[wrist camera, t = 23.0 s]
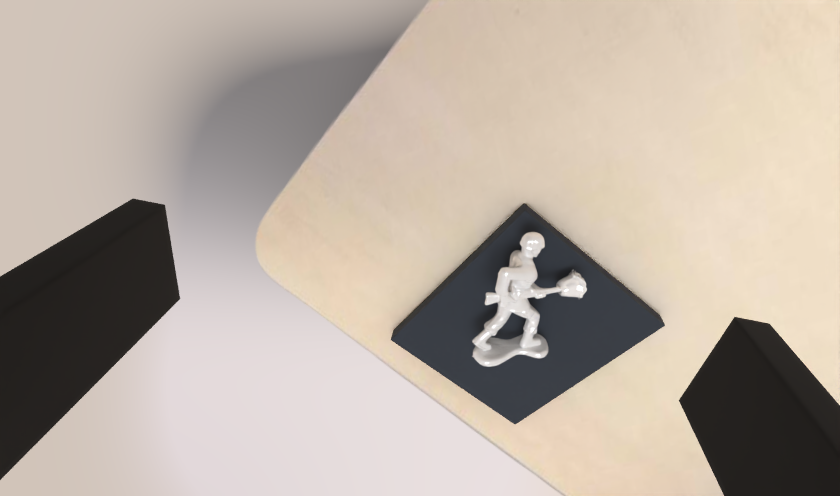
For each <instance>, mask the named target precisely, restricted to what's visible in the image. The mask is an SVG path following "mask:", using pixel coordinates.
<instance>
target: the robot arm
mask: <svg viewBox="0 0 840 496" xmlns="http://www.w3.org/2000/svg"><path fill="white" fill-rule="evenodd" d="M179 299H180V296H179V290H178V284H177V278H176V271H175V265H174V259H173V253H172V247H171V241H170V234H169V229H168V222H167V216H166V210H165V205H163V204H158V203H152V202H147V201H142V200H136V199H132V200H130V201H128V202H126V203H125V204H123V205H122V206H120V207H118V208H116V209H115V210H113V211H111V212H109V213H108V214H106V215H104V216H103V217H101V218H99V219H97V220H96V221H94V222H92V223H91V224H89V225H87V226H86V227H84V228H82V229H80V230H79V231H77V232H75V233H74V234H72V235H70V236H69V237H67V238H65V239H64V240H62V241H60V242H58V243H57V244H55V245H53V246H51V247H50V248H48V249H46V250H45V251H43V252H41V253H40V254H38V255H36V256H34V257H33V258H31V259H29V260H28V261H26V262H24V263H23V264H21V265H19V266H17V267H16V268H14V269H12V270H11V271H9V272H7V273H6V274H4V275H2V276H1V277H0V480H1V479H2V477H3V476H5V474H7V473H8V472H9V471H10V469H12V467H13V466H14V465H15V464H16V463H17V462H18V461H19V460H20V459H21V458H22V457H23V456H24V455H25V454H26V453H27V452H28V451H29V450H30V449H31V448H32V447H33V446H34V445H35V444H36V443H37V442H38V441H39V440H40V439H41V438H42V437H43V436H44V435H45V434H46V433H47V432H48V431H49V430H50V429H51V428H52V427H53V426H54V425H55V424H56V423H57V422H58V421H59V420H60V419H61V418H62V417H63V416H64V415H65V414H66V413H67V412H68V411H69V410H70V409H71V408H72V407H73V406H74V405H75V404H76V403H77V402H78V401H79V400H80V399H81V398H82V397H83V396H84V395H85V394H86V393H87V392H88V391H89V390H90V389H91V388H92V387H93V386H94V385H95V384H96V383H97V382H98V381H99V380H100V379H101V378H102V377H103V376H104V375H105V374H106V373H107V372H108V371H109V370H110V369H111V368H112V367H113V366H114V365H115V364H116V363H117V362H118V361H119V360H120V359H121V358H122V357H123V356H124V355H125V354H126V353H127V351H129V350H130V349H131V348H132V347H133V346H134V345H135V344H136V343H137V342H138V341H139V340H140V339H141V338H142V337H143V336H144V334H145V333H147V331H149V329H151V328H152V326H153V325H155V323H157V322H158V320H160V318H161V317H162V316H163V315H164V314H165V313H166V312H167V311H168V310H169V309H170V308H171V307H172V306H173V305H174V304H175V303H176V302H177V301H178V300H179ZM679 402H680V404H681V406H682V408H683V410H684V412H685V414H686V416H687V418H688V420H689V423H690V425H691V427H692V429H693V431H694V433H695V435H696V437H697V439H698V442H699V444H700V446H701V448H702V450H703V452H704V454H705V456H706V458H707V460H708V463H709V465H710V467H711V469H712V471H713V473H714V475H715V477H716V479H717V481H718V484H719V486H720V488H721V490H722V492H723V494H724V496H840V405H839V404H838V403H837V402H836V401H835V400H834V398H833V397H832V396H831V395H830V394H829V393H828V391H827V390H826V389H825V388H824V387H823V386H822V384H821V383H820V382H819V381H818V380H817V379H816V377H815V376H814V375H813V374H812V373H811V372H810V370H809V369H808V368H807V367H806V366H805V365H804V363H803V362H802V361H801V360H800V359H799V358H798V357H797V355H796V354H795V353H794V352H793V351H792V350H791V348H790V347H789V346H788V345H787V344H786V343H785V341H784V340H783V339H782V338H781V337H780V336H779V334H778V333H777V332H776V331H775V330H774V329H773V327H772V326H771V325H770V324H768V323H763V322H758V321H753V320H747V319H742V318H737V317H734V319H733V320H732V322H731V323H730V325H729V326H728V328H727V329H726V331H725V332H724V334H723V335H722V337H721V338H720V340H719V341H718V343H717V344H716V346H715V347H714V349H713V350H712V352H711V353H710V355H709V356H708V358H707V359H706V361H705V362H704V364H703V365H702V367H701V368H700V370H699V371H698V373H697V374H696V376H695V377H694V379H693V380H692V382H691V383H690V385H689V386H688V388H687V389H686V391H685V392H684V394H683V395H682V397H681V398H680V400H679Z"/></svg>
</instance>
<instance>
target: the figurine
mask: <svg viewBox="0 0 840 496" xmlns="http://www.w3.org/2000/svg"><path fill="white" fill-rule="evenodd" d="M520 245H521V246H522V247H521V250H515V251H513V252H512V254H511V256H510V261H509V267H503V268H501V269H500V271H499V273H498V278H497V283H496V287H495V291H496V293H493V292H487V293H486V299H485V305H490V304H493V303H496V302H497V303H498V308H497V313H496V315H495V316H494V317H493V318H492V319H490V320H489V321H487V322H486V323H485V324H484V330H483V331H482V332H481V333H479V334H478V335H477V336H476V337H475V338H474V339H473V340H472V342H473V343H474V344H475V345H476V346H475V348H474V349H473V356H472V357H474V358H475V360H476V361H477V362H478V363H479V364H481V365H483V366H487V367H491V366H496V365H499V364H501V363H503V362H505V361H506V360H508V359H510V358H511V357H513V356H515V355H519V354H522V355H527V356H531V357H534V358H543V357H545V356H546V355H547V353H548V349H549V348H548V344H547V341H546V339H545V338H544V337H543V336H541V335H540V334H537V327H538V324H539V319H540V314H539V312H538V311H537V310H536V309H535V308H534V307H533V306H532V305H530V303H529V301H528V299H527V298H531V297H535V298H536V299H537V298H538V299H540V298H543V297H545V296H546V294H551V293H556V292H558V293H559V294H560V295H561V296H564V297H578V298H579V297H580V298H582V297H583V295H584V294H585V293H586V291H587V288H586V282H585V281H584V278H581V275H580V274H579V273H575V272H576V271H574V269H573V270H572V271H571V272H570V273H569V275H568V276H566V277H564V278H562V279H560V280H559V281H558V282H557V283H556V287H553V288H540V287H538V286H537V285H536V284H535V283H534V282H535V281H536V279H537V277H538V274H537V270H536V267H535V264H534V262H533V257H537V256H538V254H539V253H540V250H541V249H542V248H544V247H545V242H544V238H543V236H542V235H541V234H539V233H537V232H528V233H526V234H525V235H524V236H523V237H522V239H521V241H520ZM573 271H574V272H573ZM511 313H514V314H516V315H519V316H521V317H524V318H526V321H525V325H524V327H523V330H524V332H523V334H522V335H520V336H517V337H515V338H512V339H508V340H504V339H498V338H492V337H491V336H495V335H496V334H497V332H498V330H499V329H501V328H502V327H503V325H504V324H505V323H506V322H507V320H508V319H509V317H510V315H511Z"/></svg>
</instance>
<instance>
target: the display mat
mask: <svg viewBox="0 0 840 496" xmlns="http://www.w3.org/2000/svg"><path fill="white" fill-rule="evenodd" d="M528 232H537V233H539V234H541V235H542V236H543V238H544V242H545V247H544V248H542V249H541V250H540V253H539V254H538V256H537V257H533V262H534V264H535V267H536V270H537V274H538V277H537V279H536V281H535V282H534V283H535V284H536V285H537V286H538V287H540V288H553V287H556V283H557V282H558V281H559V280H560V279H562V278H564V277H566V276H568V275H569V273H570V272H571V271H572V270H573V269H574V271H576V272H575V273H579V274H580V275H581V278H584V281H585V282H586V288H587V291H586V293H585V294H584V295H583V297H582V298H580V297H579V298H578V297H564V296H561V295H560V294H559V293H558V292H556V293H551V294H546V296H545V297H543V298H540V299H538V298H537V299H536V298H535V297H531V298H527V299H528V301H529V303H530V305H532V306H533V307H534V308H535V309H536V310H537V311H538V312H539V314H540V319H539V324H538V327H537V334H540V335H541V336H543V337H544V338H545V339H546V341H547V344H548V348H549V349H548V353H547V355H546V356H545V357H543V358H534V357H531V356H527V355H522V354H519V355H515V356H513V357H511V358H510V359H508V360H506V361H505V362H503V363H501V364H499V365H496V366H491V367H487V366H483V365H481V364H479V363H478V362H477V361H476V360H475V358H474V357H472V356H473V349H474V348H475V346H476V345H475V344H474V343H473V342H472V340H473V339H474V338H475V337H476V336H477V335H478V334H479V333H481V332H482V331H483V330H484V324H485V323H486V322H487V321H489V320H490V319H492V318H493V317H494V316H495V315H496V313H497V308H498V303H497V302H496V303H493V304H490V305H485V299H486V293H487V292H493V293H496V291H495V287H496V283H497V278H498V273H499V271H500V269H501V268H503V267H509V261H510V256H511V254H512V252H513V251H515V250H521V247H522V246H521V245H520V241H521V239H522V237H523V236H524V235H525V234H526V233H528ZM574 271H573V272H574ZM525 321H526V318H524V317H521V316H519V315H516V314H514V313H511V315H510V317H509V319H508V320H507V322H506V323H505V324H504V325H503V327H502V328H501V329H499V330H498V332H497V334H496V335H495V336H491V337H492V338H498V339H504V340H508V339H512V338H515V337H517V336H520V335H522V334H523V332H524V330H523V327H524V325H525ZM663 326H665V324H664V322H663V320H662V319H661V317H660V315H659V314H658V313H656V312H655V311H654V310H653V309H652V308H650V307H649V306H648V305H647V304H645V303H644V302H643V301H642V300H641V299H639V298H638V297H637V296H636V295H635V294H633V293H632V292H631V291H630V290H629V289H627V288H626V287H625V286H624V285H622V284H621V283H620V282H619V281H618V280H616V279H615V278H614V277H613V276H612V275H610V274H609V273H608V272H607V271H606V270H604V269H603V268H602V267H601V266H599V265H598V264H597V263H596V262H595V261H593V260H592V259H591V258H590V257H589V256H587V255H586V254H585V253H584V252H583V251H581V250H580V249H579V248H578V247H576V246H575V245H574V244H573V243H572V242H570V241H569V240H568V239H567V238H566V237H564V236H563V235H562V234H561V233H560V232H558V231H557V230H556V229H555V228H553V227H552V226H551V225H550V224H549V223H547V222H546V221H545V220H544V219H543V218H541V217H540V216H539V215H538V214H537V213H535V212H534V211H533V210H532V209H530V208H529V207H528V206H527V205H526V204H523V205H522V206H521V207H520V208H519V209H518V210H517V211H516V212H515V213H514V214H513V215H512V216H511V217H510V218H509V219H508V220H507V221H506V222H505V223H503V224H502V225H501V226H500V227H499V228H498V229H497V230H496V231H495V232H494V233H493V234H492V235H491V236H490V237H489V238H488V239H487V240H486V241H485V242H484V243H483V244H482V245H481V246H480V247H479V248H478V249H477V250H476V251H475V252H474V253H473V254H472V255H471V256H470V257H469V258H468V259H466V260H465V261H464V262H463V263H462V264H461V265H460V266H459V267H458V268H457V269H456V270H455V271H454V272H453V273H452V274H451V275H450V276H449V277H448V278H447V279H446V280H445V281H444V282H443V283H442V284H441V285H440V286H439V287H438V288H437V289H436V290H435V291H434V292H433V293H432V294H431V295H429V296H428V297H427V298H426V299H425V300H424V301H423V302H422V303H421V304H420V305H419V306H418V307H417V308H416V309H415V310H414V311H413V312H412V313H411V314H410V315H409V316H408V317H407V318H406V319H405V320H404V321H403V322H402V323H401V324H400V325H399V326H398V327H397V328H396V329H395V330H394V331H393V334H392V338H391V340H392V341H393V342H395V343H396V344H398V345H399V346H401V347H402V348H404V349H405V350H406V351H408V352H409V353H411V354H412V355H414V356H415V357H417V358H418V359H420V360H421V361H423V362H424V363H426V364H427V365H428V366H430V367H431V368H433V369H434V370H436V371H437V372H439V373H440V374H442V375H443V376H445V377H446V378H448V379H449V380H451V381H452V382H453V383H455V384H456V385H458V386H459V387H461V388H462V389H464V390H465V391H467V392H468V393H470V394H471V395H473V396H474V397H475V398H477V399H478V400H480V401H481V402H483V403H484V404H486V405H487V406H489V407H490V408H492V409H493V410H495V411H496V412H497V413H499V414H500V415H502V416H503V417H505V418H506V419H508V420H509V421H511V422H512V423H514V424H517V423H518V422H520V421H521V420H523V419H524V418H526V417H527V416H529V415H530V414H532V413H533V412H535V411H536V410H538V409H539V408H541V407H542V406H544V405H545V404H547V403H548V402H550V401H551V400H553V399H554V398H556V397H557V396H559V395H560V394H562V393H563V392H565V391H566V390H568V389H570V388H571V387H573V386H574V385H576V384H577V383H579V382H580V381H582V380H583V379H585V378H586V377H588V376H589V375H591V374H592V373H594V372H595V371H597V370H598V369H600V368H601V367H603V366H604V365H606V364H607V363H609V362H610V361H612V360H613V359H615V358H616V357H618V356H619V355H621V354H622V353H624V352H625V351H627V350H628V349H630V348H632V347H633V346H635V345H636V344H638V343H639V342H641V341H642V340H644V339H645V338H647V337H648V336H650V335H651V334H653V333H654V332H656V331H657V330H659V329H660V328H662V327H663Z"/></svg>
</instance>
